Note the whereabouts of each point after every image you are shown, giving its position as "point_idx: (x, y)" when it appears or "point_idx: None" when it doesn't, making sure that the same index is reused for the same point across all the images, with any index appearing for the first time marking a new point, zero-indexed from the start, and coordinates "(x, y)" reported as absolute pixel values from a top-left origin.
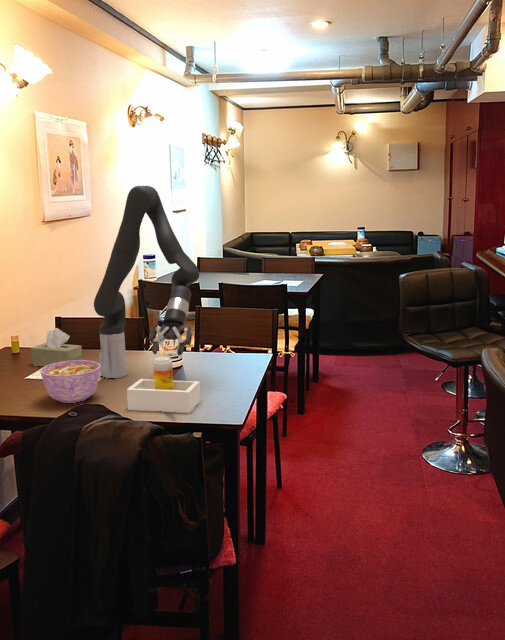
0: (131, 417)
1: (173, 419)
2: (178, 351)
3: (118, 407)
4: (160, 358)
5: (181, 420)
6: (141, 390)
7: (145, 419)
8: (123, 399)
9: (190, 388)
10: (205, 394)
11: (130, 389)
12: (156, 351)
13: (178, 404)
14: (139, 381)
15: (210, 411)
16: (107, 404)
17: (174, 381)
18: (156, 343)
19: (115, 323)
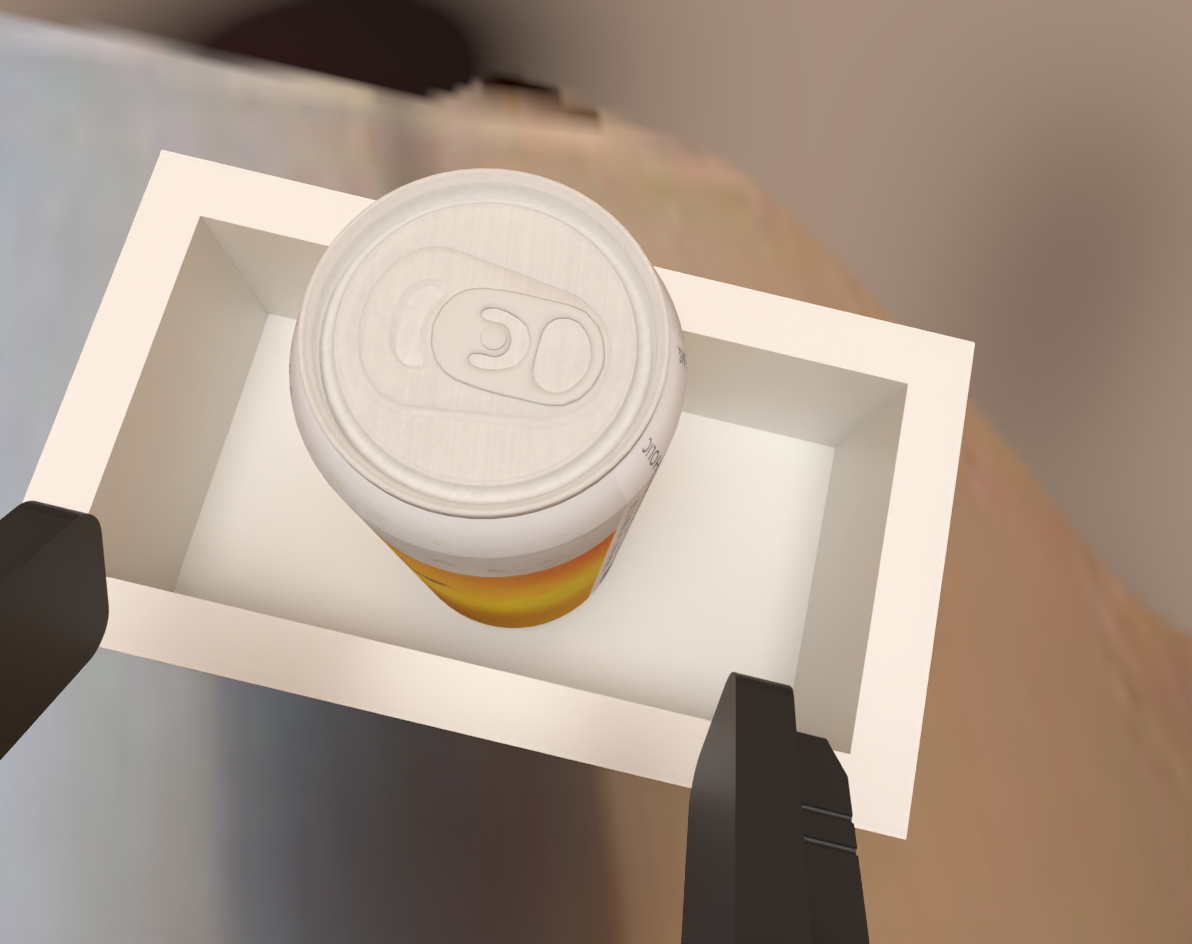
0: (797, 223)
1: (401, 137)
2: (36, 514)
3: (997, 514)
4: (540, 390)
5: (326, 106)
6: (778, 300)
7: (658, 162)
8: (1020, 788)
9: (134, 294)
10: (35, 915)
11: (926, 334)
12: (699, 811)
13: None
14: (892, 697)
15: (34, 307)
16: (1143, 622)
17: (365, 646)
18: (739, 895)
19: None
